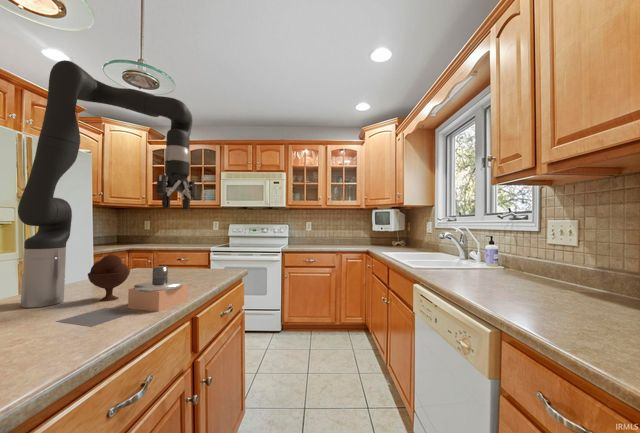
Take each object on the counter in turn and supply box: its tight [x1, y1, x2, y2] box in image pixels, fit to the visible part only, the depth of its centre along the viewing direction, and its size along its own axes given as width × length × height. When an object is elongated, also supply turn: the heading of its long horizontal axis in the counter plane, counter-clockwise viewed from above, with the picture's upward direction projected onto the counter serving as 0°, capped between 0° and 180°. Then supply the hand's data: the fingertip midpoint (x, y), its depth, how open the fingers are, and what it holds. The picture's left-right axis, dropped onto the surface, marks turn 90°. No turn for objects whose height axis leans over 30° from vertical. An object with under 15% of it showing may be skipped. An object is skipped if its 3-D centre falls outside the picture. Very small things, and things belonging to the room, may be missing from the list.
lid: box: [133, 265, 185, 291], centre depth 83 cm, size 13×13×6 cm
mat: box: [55, 307, 139, 328], centre depth 71 cm, size 12×12×1 cm
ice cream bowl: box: [87, 254, 131, 303], centre depth 88 cm, size 11×11×15 cm
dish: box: [127, 282, 189, 312], centre depth 82 cm, size 11×11×6 cm
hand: (176, 208), depth 92 cm, fingers open, 8 cm apart
